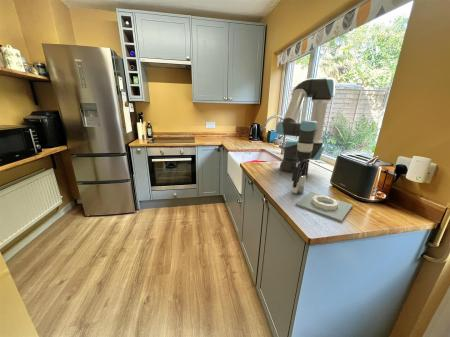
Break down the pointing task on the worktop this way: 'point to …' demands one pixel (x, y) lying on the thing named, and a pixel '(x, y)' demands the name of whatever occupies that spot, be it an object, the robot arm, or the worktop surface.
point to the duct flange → (325, 206)
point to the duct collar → (301, 184)
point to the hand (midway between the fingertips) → (297, 190)
